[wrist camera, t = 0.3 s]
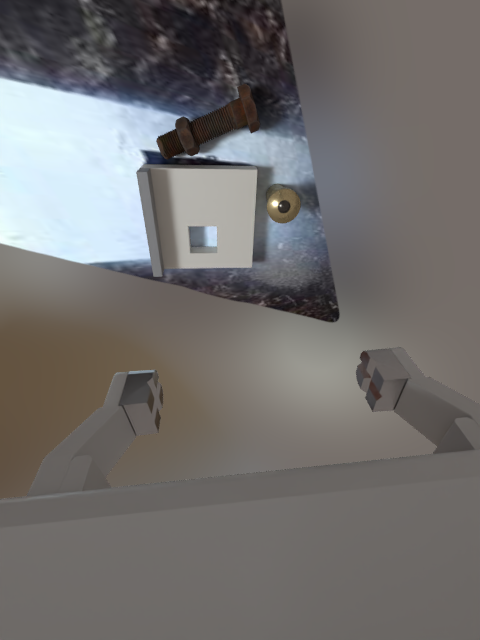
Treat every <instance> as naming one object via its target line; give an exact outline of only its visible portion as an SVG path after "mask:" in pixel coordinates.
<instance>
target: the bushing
mask: <svg viewBox="0 0 480 640" xmlns="http://www.w3.org/2000/svg"><path fill="white" fill-rule="evenodd" d="M266 199H267V211H268V214H269V216H270V217H271V219H272V220H274V221H275V222H278V223H287V222H290V221H291V220H293V219H294V218H295V217H296V216H297V214H298V213H299V210H300V205H301V204H300V199H299V196H298V195H297V194H296V193H295V191H293V190H292V189H290V188H284V187H283V186H282V185H280V184H274V185H272V186H270V187H269V188H268V190H267V192H266Z"/></svg>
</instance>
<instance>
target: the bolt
mask: <svg viewBox="0 0 480 640" xmlns="http://www.w3.org/2000/svg"><path fill="white" fill-rule="evenodd" d="M237 88H238V92H239V97H240V98H238V99H236V100H234V101H232V102H230V103H229V104H227V105H225V107H224V106H223V108H222V107H221V109H220V108H219V110H218V109H217V111H215V110H214V112H213V111H212V113H211V112H210V114H209V113H208V115H207V114H206V116H205V115H204V117H203V116H202V118H201V117H200V118H199V119H197V120H196V119H195V121H194V120H193V122H192V121H191V123H190V122H189V120H188V118H186V117H184V116H183V117H181V118H179V119H177V120H176V123H175V127H176V129H175V130H173V131H170V132H168V133H166V134H164V135H162V136H161V135H160V136H158V138H157V144H158V147H159V149H160V152H161V154H162V156H164V158H166V159H168V158H169V159H170V157H171V158H172V156H173V157H174V156H176V155H178V154H180V153H182V152H184V151H186V153H187V154H188V155H190V156H193V155H195V154H198V153H199V150H200V148H199V145H200V144H202V143H203V144H204V142H205V143H206V141H207V142H208V140H209V141H210V139H211V140H212V138H213V139H214V137H215V138H216V136H217V137H218V136H220V135H223V134H225V133H227V132H229V131H230V132H231V130H232V131H233V129H234V130H235V129H239V128H241V127H244V126H246V125H248V127H249V129H250V132H251V133H253V132H255V131H258V130H259V127H260V122H259V118H258V114H257V110H256V106H255V103H254V99H253V96H252V93H251V90H250V88H249V86H248V85H246V84H243V85H241V86H239V87H237Z"/></svg>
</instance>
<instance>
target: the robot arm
mask: <svg viewBox="0 0 480 640" xmlns="http://www.w3.org/2000/svg"><path fill="white" fill-rule="evenodd" d="M360 359H361V361H362V362H361V363H360V364H359V365H358V366H357V370H356V375H357V376H356V377H357V381H358V384H359V386H360V388H361V389H362V390H363V391H365V392H366V393H367V394H366V397H365V398H366V400H367V402H368V404H369V406H370V408H371V410H372V412H376V411H391V410H394V412H395V413H397V414H398V415H399V416H400V417H402V418H403V419H404V420H405V421H407V422H408V423H409V424H410V425H412V426H413V427H414V428H415V429H416V430H418V431H419V432H420V433H421V434H423V435H424V436H425V437H426V438H427V439H429V440H430V441H431V442H432V443H434V444H435V445H436V446H437V448H436V450H435V451H434V452H433V454H428V455H420V456H410V457H400V458H390V459H380V460H371V461H362V462H352V463H343V464H333V465H323V466H314V467H304V468H294V469H285V470H275V471H266V472H256V473H247V474H237V475H228V476H218V477H208V478H200V479H189V480H179V481H170V482H161V483H150V484H141V485H131V486H123V487H113V488H112V487H111V486H110V484H109V483H108V481H107V480H106V476H107V475H108V473H109V472H110V471H111V470H112V468H113V467H114V466H115V464H116V463H117V462H118V460H119V459H120V458H121V456H122V455H123V454H124V452H125V451H126V450H127V448H128V447H129V446H130V444H131V443H132V442H133V440H134V439H135V438H136V436H137V435H144V434H152V433H158V432H159V426H160V419H161V417H160V414H159V411H160V410H161V408H162V406H163V390H162V386H161V384H160V383H159V382H158V377H159V376H158V373H157V371H156V370H146V371H132V372H121V373H116V374H115V375H114V377H113V380H112V382H111V386H110V388H109V391H108V394H107V397H106V400H105V403H104V406H103V408H98V409H97V410H96V411H95V412H94V413H93V414H92V415H91V416H90V417H88V418H87V419H86V420H85V421H84V422H83V423H82V424H81V425H80V426H79V427H78V428H76V430H74V431H73V432H72V433H71V434H70V435H69V436H68V437H67V438H66V439H65V440H63V441H62V442H61V443H60V444H59V445H58V446H57V447H56V448H55V449H54V450H52V451H51V452H50V453H49V454H48V455H47V456H46V457H45V458H44V460H43V462H42V464H41V466H40V468H39V470H38V472H37V475H36V477H35V479H34V481H33V483H32V486H31V488H30V490H29V492H28V494H27V496H26V497H15V498H6V499H0V640H480V404H479V403H476V402H475V401H473V400H471V399H469V398H468V397H466V396H464V395H462V394H460V393H458V392H456V391H455V390H453V389H451V388H449V387H447V386H445V385H443V384H442V383H440V382H438V381H436V380H434V379H432V378H431V377H425V376H424V374H423V373H422V372H421V370H420V369H419V368H418V367H417V365H416V364H415V363H414V362H413V360H412V359H411V357H410V356H409V355H408V354H407V352H406V351H405V350H404V349H403V348H401V347H398V348H389V349H378V350H367V351H363V352H362V353H361V355H360Z"/></svg>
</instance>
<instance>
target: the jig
mask: <svg viewBox="0 0 480 640" xmlns="http://www.w3.org/2000/svg"><path fill="white" fill-rule="evenodd" d="M136 173H137V179H138V185H139V191H140V197H141V203H142V209H143V215H144V221H145V227H146V233H147V239H148V245H149V251H150V257H151V264H152V270H153V276H162V275H163V271H164V269H173V268H252V255H253V238H254V221H255V203H256V186H257V168H256V167H255V166H216V165H152V164H144V165H143V166H142V167H141V168H140V169H139V170H138V171H137V172H136ZM189 226H217V247H191V242H190V229H189Z"/></svg>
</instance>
